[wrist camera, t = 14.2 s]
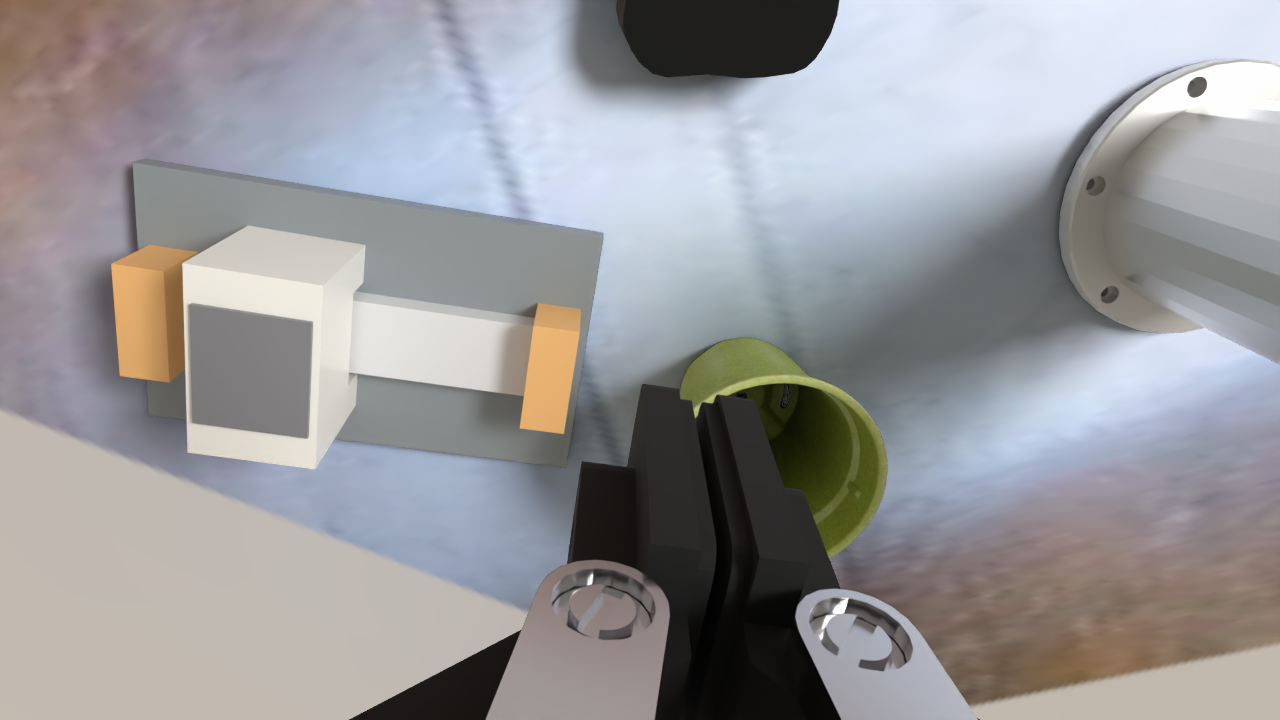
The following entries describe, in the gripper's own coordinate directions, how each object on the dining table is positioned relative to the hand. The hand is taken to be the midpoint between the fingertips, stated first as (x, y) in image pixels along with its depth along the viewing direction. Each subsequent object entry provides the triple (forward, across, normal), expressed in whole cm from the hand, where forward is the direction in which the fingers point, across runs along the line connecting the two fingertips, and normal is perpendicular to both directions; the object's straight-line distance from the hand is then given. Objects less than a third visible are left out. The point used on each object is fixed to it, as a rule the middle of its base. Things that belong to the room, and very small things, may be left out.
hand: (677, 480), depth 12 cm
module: (+24, +14, +8) cm, 29 cm away
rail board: (+25, +12, +8) cm, 29 cm away
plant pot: (+26, -6, +10) cm, 29 cm away
